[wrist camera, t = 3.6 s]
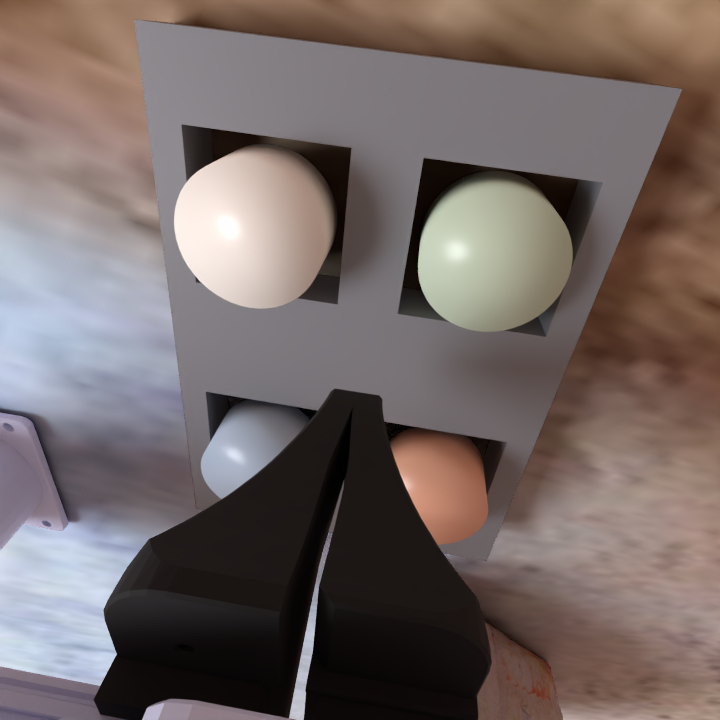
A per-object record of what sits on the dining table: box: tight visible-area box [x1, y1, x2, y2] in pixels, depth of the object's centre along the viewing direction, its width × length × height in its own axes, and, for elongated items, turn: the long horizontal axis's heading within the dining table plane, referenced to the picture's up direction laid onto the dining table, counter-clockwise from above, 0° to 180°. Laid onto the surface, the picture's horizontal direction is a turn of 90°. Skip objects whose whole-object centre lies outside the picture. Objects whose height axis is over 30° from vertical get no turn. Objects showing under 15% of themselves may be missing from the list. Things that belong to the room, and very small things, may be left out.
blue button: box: [201, 399, 310, 499], centre depth 19 cm, size 4×4×2 cm
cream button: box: [174, 144, 337, 309], centre depth 14 cm, size 4×4×2 cm
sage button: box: [418, 171, 573, 332], centre depth 14 cm, size 4×4×2 cm
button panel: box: [134, 20, 682, 561], centre depth 17 cm, size 13×18×2 cm
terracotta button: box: [389, 427, 488, 545], centre depth 18 cm, size 4×4×2 cm
